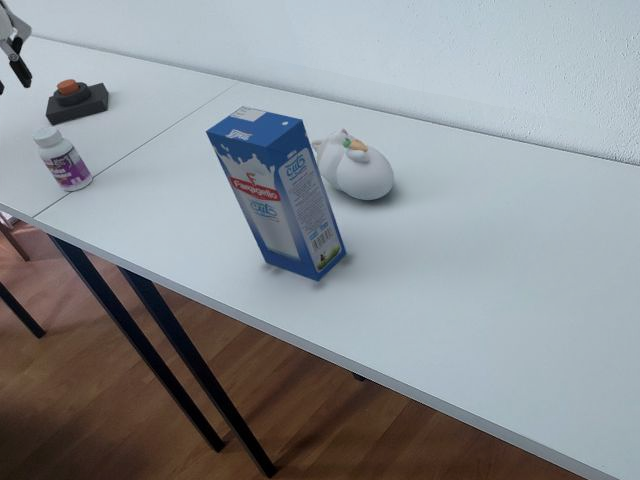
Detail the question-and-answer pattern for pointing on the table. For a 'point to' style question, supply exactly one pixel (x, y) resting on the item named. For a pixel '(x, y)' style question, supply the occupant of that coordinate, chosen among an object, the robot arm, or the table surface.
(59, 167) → the pill bottle
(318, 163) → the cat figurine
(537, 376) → the table surface
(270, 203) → the milk carton
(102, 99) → the black button base
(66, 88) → the lid button
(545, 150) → the table surface
